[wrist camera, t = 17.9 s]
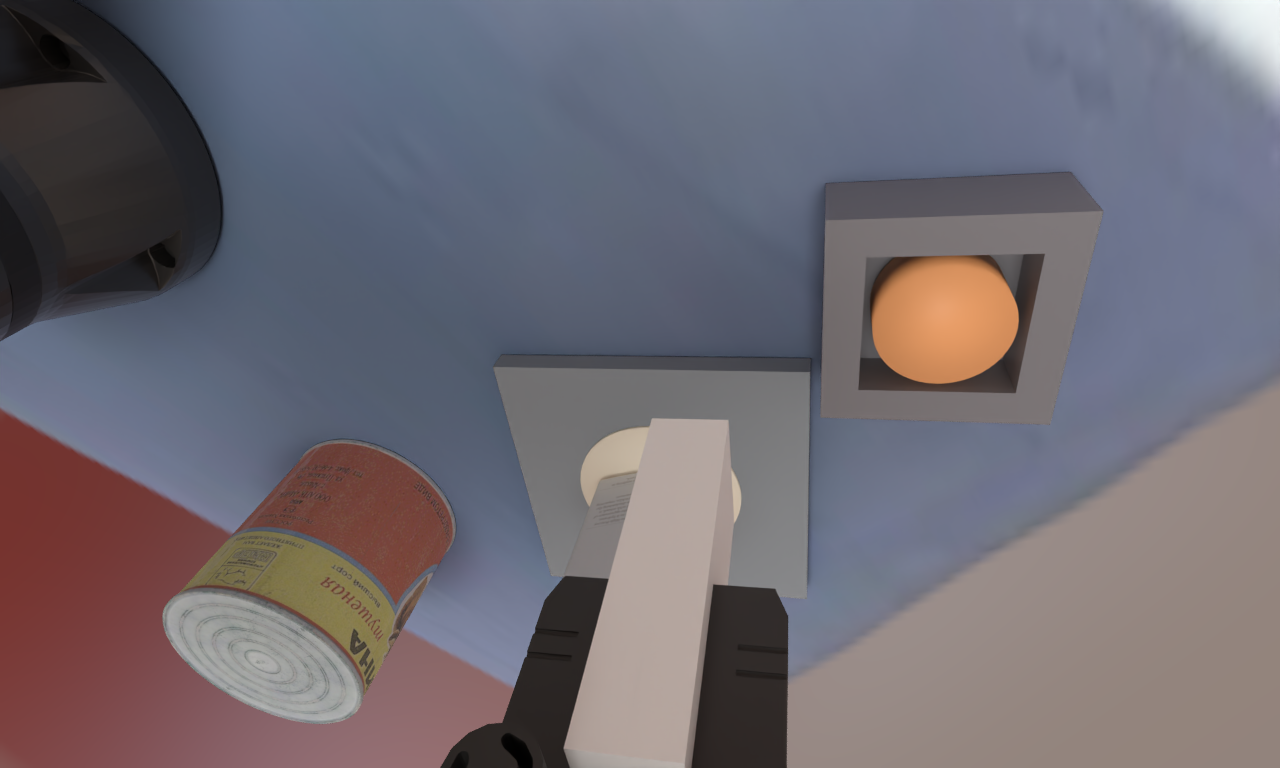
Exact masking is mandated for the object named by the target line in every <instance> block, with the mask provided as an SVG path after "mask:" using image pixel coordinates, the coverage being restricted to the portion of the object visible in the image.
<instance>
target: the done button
mask: <svg viewBox="0 0 1280 768" xmlns="http://www.w3.org/2000/svg"><path fill="white" fill-rule="evenodd" d="M870 313H871V323H872V333H873V340H874V344H875V347H876V350H877V352H878V353H879V355H880V357H881V358H882V360H883V361H884V362H885V363H886V364H887V365H888V366H889V367H890V368H891V369H893V370H894V371H895V372H897V373H899V374H900V375H902V376H904V377H906V378H909V379H912V380H915V381H918V382H924V383H933V384H942V383H952V382H957V381H962V380H965V379H968V378H971V377H974V376H976V375H978V374H980V373H982V372H984V371H985V370H987V369H989V368H990V367H991V366H993V365H994V364H995V363H996V362H998V361H999V360H1000V359H1001V358H1002V357H1003V356H1004V354H1005V353H1006V352H1007V351H1008V349H1009V348H1010V346H1011V344H1012V343H1013V341H1014V338H1015V336H1016V333H1017V329H1018V322H1019V315H1018V308H1017V304H1016V302H1015V299H1014V297H1013V295H1012V293H1011V290H1010V288H1009V286H1008V284H1007V281H1006V279H1005V277H1004V275H1003V273H1002V270H1001V269H1000V267H999V265H998V264H997V263H996V261H995V260H994V259H993V258H992V257H991V256H990V255H960V256H913V257H895V258H894V259H892V260H891V261H890V262H889V263H888V264H887V265H886V266H885V267H884V269H883V270H882V271H881V272H880V274H879V275H878V277H877V279H876V281H875V283H874V285H873V288H872V291H871V296H870Z"/></svg>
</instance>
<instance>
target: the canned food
mask: <svg viewBox="0 0 1280 768" xmlns="http://www.w3.org/2000/svg"><path fill="white" fill-rule="evenodd" d="M455 534H456V522H455V517H454V513H453V511H452V508H451V506H450V504H449V502H448V500H447V498H446V497H445V495H444V494H443V492H442V491H441V489H440V488H439V487H438V486H437V485H436V483H435V482H434V481H433V480H432V479H431V478H430V477H429V476H428V475H427V474H426V473H424V472H423V471H422V470H421V469H420V468H418V467H417V466H416V465H414V464H413V463H411V462H410V461H409V460H407V459H405V458H404V457H402V456H400V455H398V454H396V453H394V452H392V451H390V450H388V449H386V448H383V447H380V446H378V445H374V444H371V443H367V442H363V441H357V440H348V439H338V440H329V441H325V442H322V443H319V444H317V445H315V446H313V447H311V448H310V449H309V450H307V451H306V453H305V454H304V455H303V456H302V457H301V459H300V460H299V462H298V464H297V465H296V466H295V467H294V468H293V469H292V470H291V471H290V472H289V473H288V475H287V476H286V477H285V478H284V479H283V480H282V481H281V482H280V483H279V484H278V485H277V487H276V488H275V489H274V490H273V491H272V492H271V493H270V494H269V495H268V496H267V498H266V499H265V500H264V501H263V502H262V503H261V504H260V505H259V506H258V507H257V508H256V510H255V511H254V512H253V513H252V514H251V515H250V516H249V517H248V518H247V519H246V521H245V522H244V523H243V524H242V525H241V526H240V527H239V528H238V529H237V530H236V532H235V533H234V534H233V535H232V536H231V537H230V538H229V539H228V540H227V541H226V543H225V544H224V545H223V546H222V547H221V548H220V549H219V550H218V551H217V552H216V553H215V555H214V556H213V557H212V558H211V559H210V560H209V561H208V562H207V563H206V564H205V566H204V567H203V568H202V569H201V570H200V571H199V572H198V573H197V574H196V576H195V577H194V578H193V579H192V580H191V581H190V582H189V583H188V584H187V585H186V586H185V587H184V589H183V590H182V591H181V592H180V593H179V594H177V595H175V596H174V597H173V598H172V599H171V600H170V601H169V602H168V603H167V605H166V606H165V608H164V611H163V625H164V630H165V632H166V635H167V637H168V639H169V641H170V642H171V644H172V645H173V647H174V648H175V650H176V651H177V652H178V654H179V655H180V656H181V657H182V658H183V659H184V660H185V661H186V662H187V663H188V664H189V665H190V666H191V667H192V668H193V669H194V670H195V671H196V672H198V674H200V675H201V676H202V677H203V678H205V679H206V680H208V681H209V682H210V683H212V684H213V685H214V686H216V687H217V688H219V689H220V690H222V691H224V692H225V693H227V694H228V695H230V696H232V697H234V698H236V699H237V700H239V701H241V702H243V703H245V704H248V705H250V706H252V707H254V708H256V709H259V710H261V711H264V712H266V713H269V714H272V715H275V716H279V717H281V718H285V719H289V720H293V721H298V722H305V723H313V724H326V723H327V724H328V723H335V722H339V721H342V720H345V719H348V718H349V717H351V716H352V715H354V714H355V713H356V712H357V710H358V709H359V707H360V705H361V703H362V701H363V697H364V695H365V693H366V691H367V690H368V688H369V686H370V684H371V683H372V681H373V679H374V677H375V676H376V674H377V672H378V670H379V668H380V667H381V665H382V663H383V662H384V659H385V658H386V656H387V654H388V653H389V651H390V649H391V648H392V646H393V644H394V642H395V640H396V639H397V637H398V635H399V634H400V632H401V630H402V628H403V627H404V625H405V623H406V621H407V620H408V618H409V616H410V614H411V613H412V611H413V609H414V607H415V606H416V604H417V602H418V600H419V599H420V597H421V595H422V593H423V591H424V590H425V588H426V586H427V584H428V583H429V581H430V579H431V577H432V576H433V574H434V572H435V570H436V569H437V567H438V565H439V563H440V562H441V560H442V558H443V556H444V555H445V554H446V553H447V551H448V550H449V549H450V547H451V545H452V543H453V541H454V538H455Z"/></svg>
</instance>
